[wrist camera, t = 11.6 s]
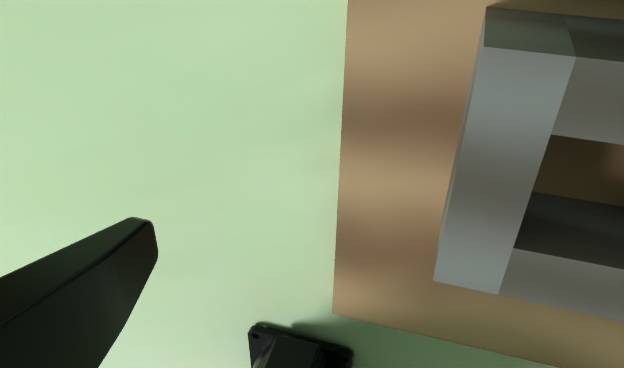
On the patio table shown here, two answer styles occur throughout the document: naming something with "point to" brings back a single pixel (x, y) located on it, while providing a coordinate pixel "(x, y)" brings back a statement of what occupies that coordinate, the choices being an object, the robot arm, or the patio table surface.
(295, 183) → the patio table surface
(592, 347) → the chuck stand
